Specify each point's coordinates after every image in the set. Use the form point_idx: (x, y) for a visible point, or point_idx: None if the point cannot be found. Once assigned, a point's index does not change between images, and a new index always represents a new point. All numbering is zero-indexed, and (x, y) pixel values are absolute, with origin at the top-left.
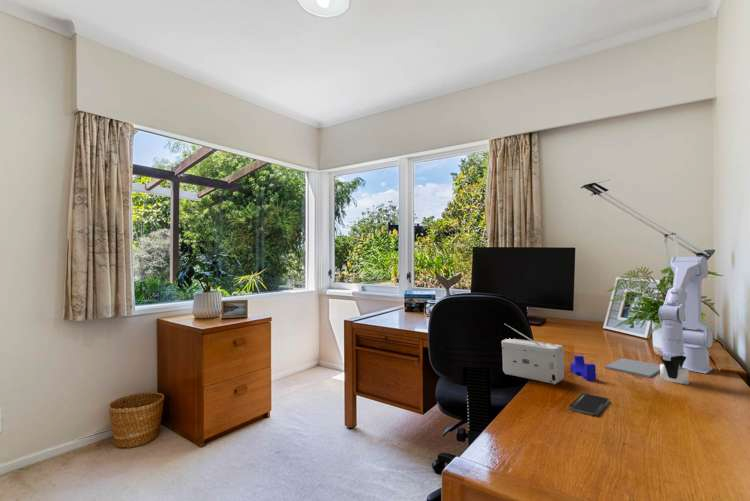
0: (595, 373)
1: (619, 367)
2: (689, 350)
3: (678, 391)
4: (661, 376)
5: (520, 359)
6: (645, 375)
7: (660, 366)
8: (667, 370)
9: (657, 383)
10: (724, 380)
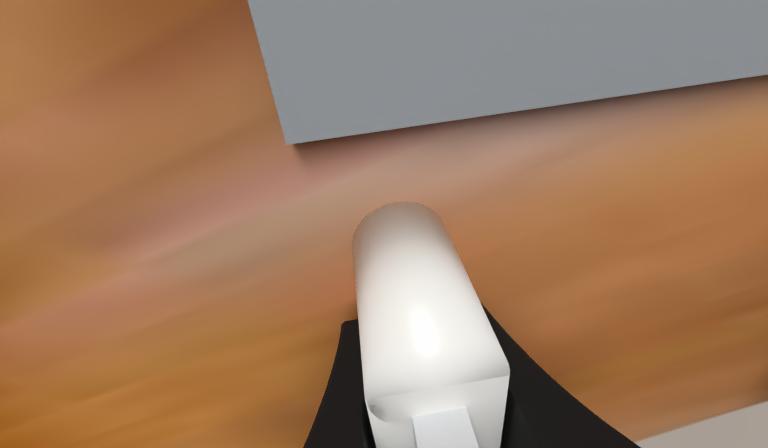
0: None
1: None
2: None
3: (148, 411)
4: (359, 246)
5: None
6: (272, 82)
7: (381, 341)
8: (327, 399)
9: (166, 270)
10: (674, 401)
